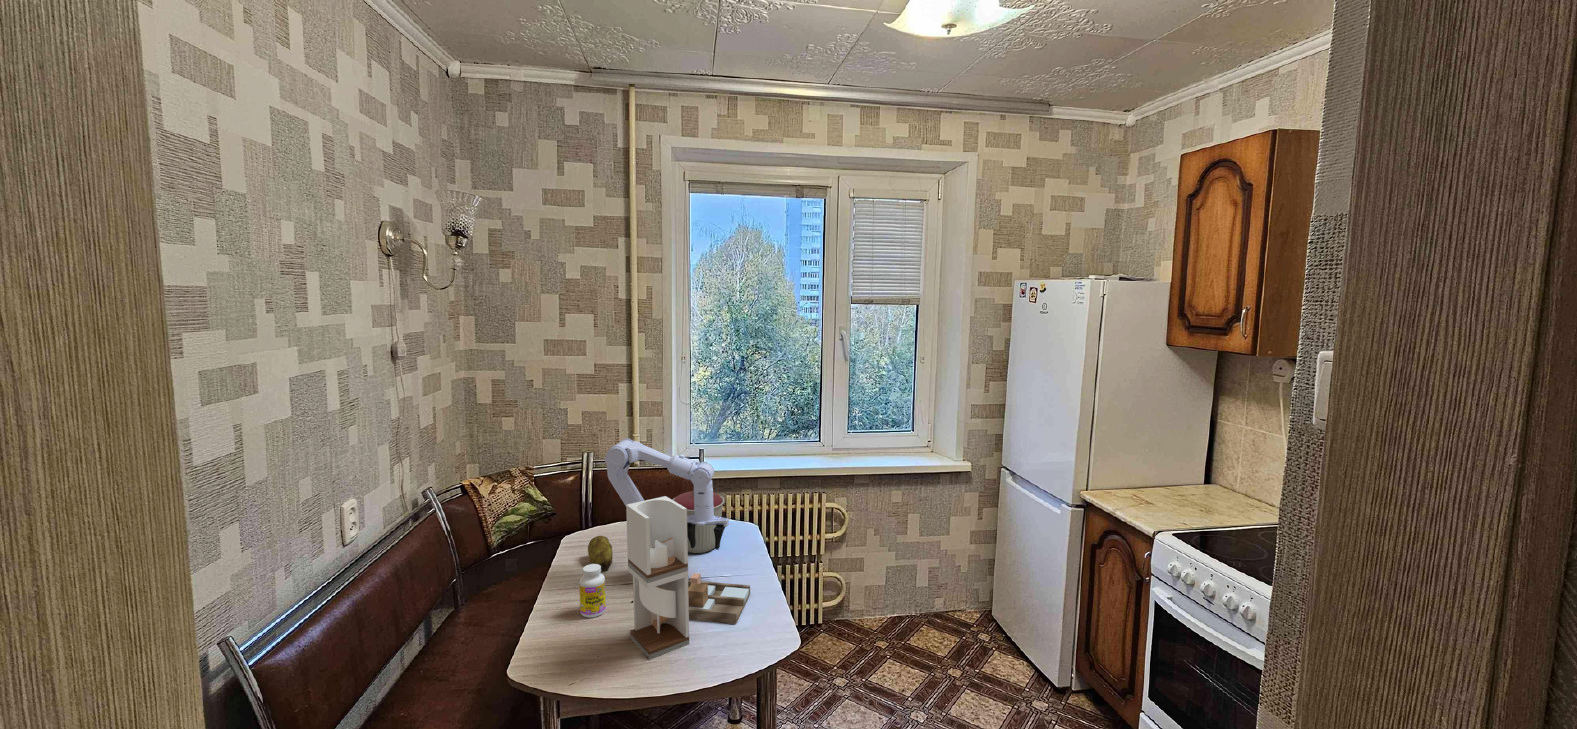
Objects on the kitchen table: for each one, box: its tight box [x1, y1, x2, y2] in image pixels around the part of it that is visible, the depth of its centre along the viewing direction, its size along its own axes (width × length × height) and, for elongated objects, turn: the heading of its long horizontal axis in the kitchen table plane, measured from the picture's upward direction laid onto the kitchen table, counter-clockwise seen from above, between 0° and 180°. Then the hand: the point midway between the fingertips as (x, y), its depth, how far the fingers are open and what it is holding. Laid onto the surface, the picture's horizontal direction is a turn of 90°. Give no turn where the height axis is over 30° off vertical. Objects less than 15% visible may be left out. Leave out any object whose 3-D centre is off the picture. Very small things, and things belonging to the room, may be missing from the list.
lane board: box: [688, 579, 751, 625], centre depth 172 cm, size 22×16×3 cm
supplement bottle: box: [578, 563, 607, 618], centre depth 167 cm, size 7×7×13 cm
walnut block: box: [688, 583, 708, 608], centre depth 168 cm, size 4×4×4 cm
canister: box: [672, 488, 726, 554], centre depth 209 cm, size 18×18×21 cm
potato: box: [587, 535, 613, 571], centre depth 197 cm, size 8×13×8 cm, turn 10°
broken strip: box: [689, 572, 749, 603], centre depth 175 cm, size 16×6×6 cm, turn 80°
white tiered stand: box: [625, 495, 690, 660], centre depth 152 cm, size 11×11×35 cm
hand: (705, 547), depth 185 cm, fingers open, 7 cm apart
